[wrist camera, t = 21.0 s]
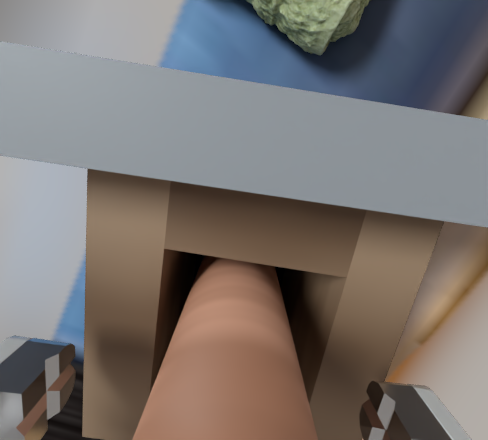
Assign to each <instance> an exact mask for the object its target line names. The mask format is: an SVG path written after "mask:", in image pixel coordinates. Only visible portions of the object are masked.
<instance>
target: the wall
mask: <svg viewBox="0 0 488 440" xmlns="http://www.w3.org/2000/svg"><path fill="white" fill-rule="evenodd" d="M0 156H6V157H14V158H20V159H27V160H33V161H40V162H47V163H54V164H61V165H67V166H74V167H81V168H88V169H94V170H101V171H108V172H115V173H121V174H128V175H135V176H142V177H149V178H155V179H162V180H169V181H176V182H182V183H189V184H196V185H203V186H210V187H216V188H223V189H230V190H237V191H243V192H250V193H257V194H264V195H270V196H277V197H284V198H291V199H298V200H304V201H311V202H318V203H325V204H331V205H338V206H345V207H352V208H359V209H365V210H372V211H379V212H386V213H392V214H399V215H406V216H413V217H420V218H426V219H433V220H440V221H447V222H453V223H460V224H467V225H474V226H480V227H487V228H488V120H484V119H478V118H472V117H466V116H459V115H453V114H447V113H441V112H435V111H428V110H422V109H416V108H410V107H404V106H397V105H391V104H385V103H379V102H373V101H367V100H360V99H354V98H348V97H342V96H336V95H329V94H323V93H317V92H311V91H305V90H299V89H292V88H286V87H280V86H274V85H268V84H261V83H255V82H249V81H243V80H237V79H230V78H224V77H218V76H212V75H206V74H200V73H193V72H187V71H181V70H175V69H169V68H162V67H156V66H150V65H144V64H137V63H132V62H125V61H119V60H113V59H107V58H101V57H94V56H88V55H82V54H76V53H70V52H63V51H57V50H51V49H45V48H39V47H33V46H26V45H20V44H14V43H8V42H2V41H0Z"/></svg>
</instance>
